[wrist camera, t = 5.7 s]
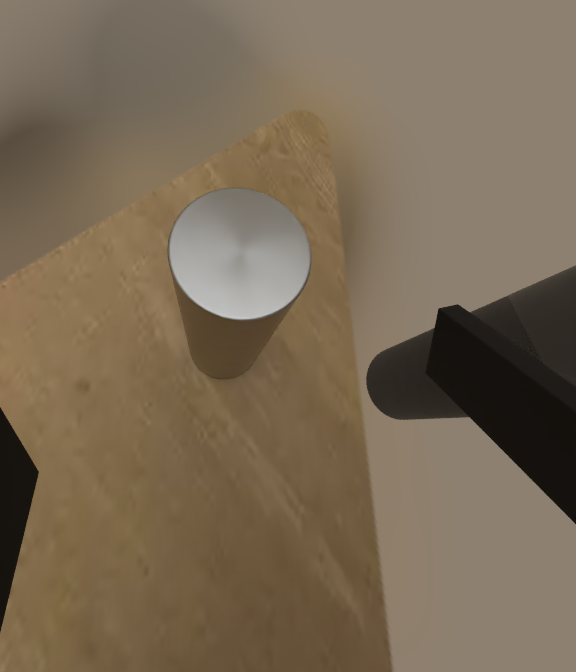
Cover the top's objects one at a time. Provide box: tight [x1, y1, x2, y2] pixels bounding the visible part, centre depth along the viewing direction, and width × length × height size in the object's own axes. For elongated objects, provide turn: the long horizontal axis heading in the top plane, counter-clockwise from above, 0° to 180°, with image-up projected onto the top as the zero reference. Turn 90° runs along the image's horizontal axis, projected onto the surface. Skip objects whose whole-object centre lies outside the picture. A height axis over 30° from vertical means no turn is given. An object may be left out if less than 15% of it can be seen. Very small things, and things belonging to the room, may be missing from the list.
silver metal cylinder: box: [168, 188, 311, 379], centre depth 16 cm, size 4×4×12 cm
